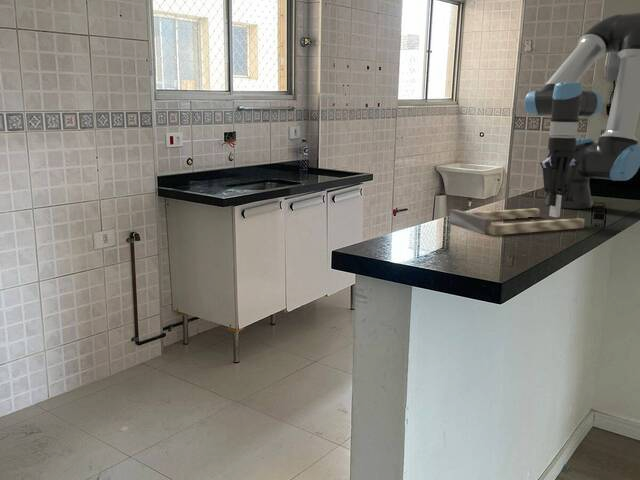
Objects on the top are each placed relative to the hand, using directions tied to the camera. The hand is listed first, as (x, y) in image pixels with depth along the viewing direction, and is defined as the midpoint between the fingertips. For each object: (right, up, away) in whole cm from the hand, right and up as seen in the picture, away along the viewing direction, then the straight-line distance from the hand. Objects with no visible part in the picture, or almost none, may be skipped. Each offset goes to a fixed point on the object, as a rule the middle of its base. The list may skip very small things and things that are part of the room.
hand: (554, 216), depth 180 cm
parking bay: (-13, -3, -5) cm, 14 cm away
